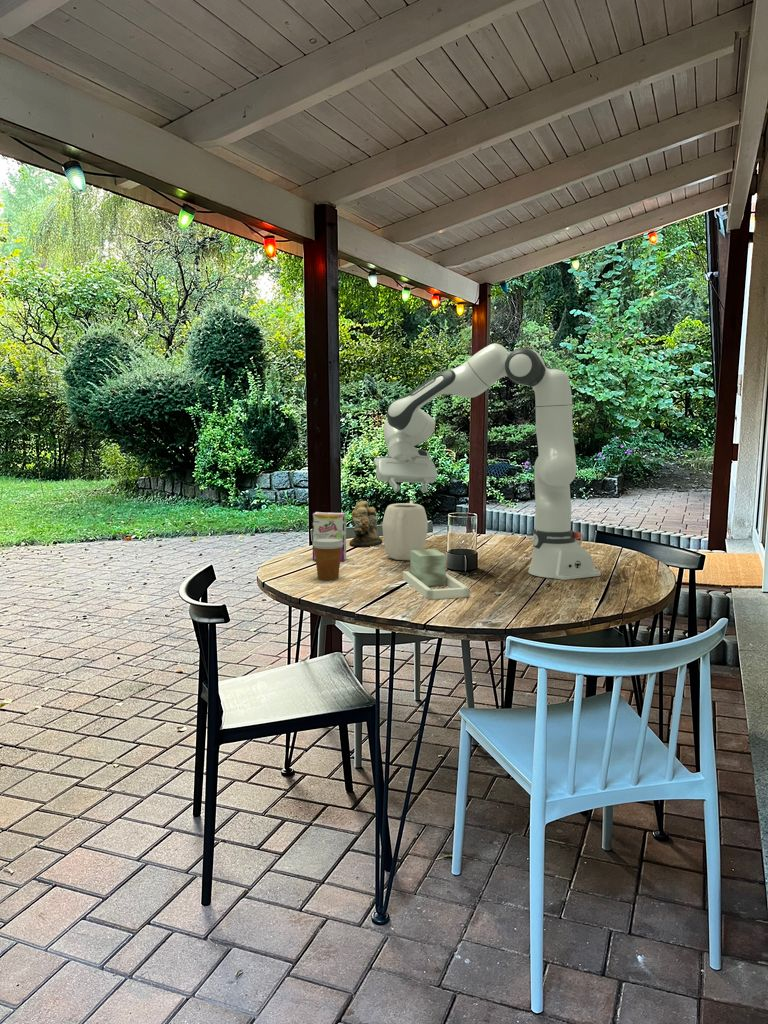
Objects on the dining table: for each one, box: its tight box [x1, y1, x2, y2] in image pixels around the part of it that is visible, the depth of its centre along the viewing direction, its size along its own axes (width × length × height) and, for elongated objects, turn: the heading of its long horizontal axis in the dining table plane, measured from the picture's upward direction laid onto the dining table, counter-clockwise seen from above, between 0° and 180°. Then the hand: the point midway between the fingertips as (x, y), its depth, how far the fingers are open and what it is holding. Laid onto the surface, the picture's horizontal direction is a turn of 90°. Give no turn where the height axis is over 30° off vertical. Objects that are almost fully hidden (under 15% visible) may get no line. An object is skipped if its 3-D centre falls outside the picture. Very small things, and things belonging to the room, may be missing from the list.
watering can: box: [381, 499, 429, 561], centre depth 253 cm, size 16×27×19 cm, turn 169°
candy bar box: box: [312, 511, 347, 562], centre depth 248 cm, size 11×5×16 cm, turn 84°
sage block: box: [409, 548, 447, 587], centre depth 215 cm, size 8×10×9 cm
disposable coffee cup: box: [312, 537, 343, 581], centre depth 221 cm, size 10×10×12 cm
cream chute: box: [402, 570, 471, 600], centre depth 209 cm, size 12×26×2 cm, turn 14°
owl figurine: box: [349, 500, 383, 548], centre depth 279 cm, size 18×12×17 cm, turn 162°
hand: (411, 490), depth 229 cm, fingers open, 8 cm apart
